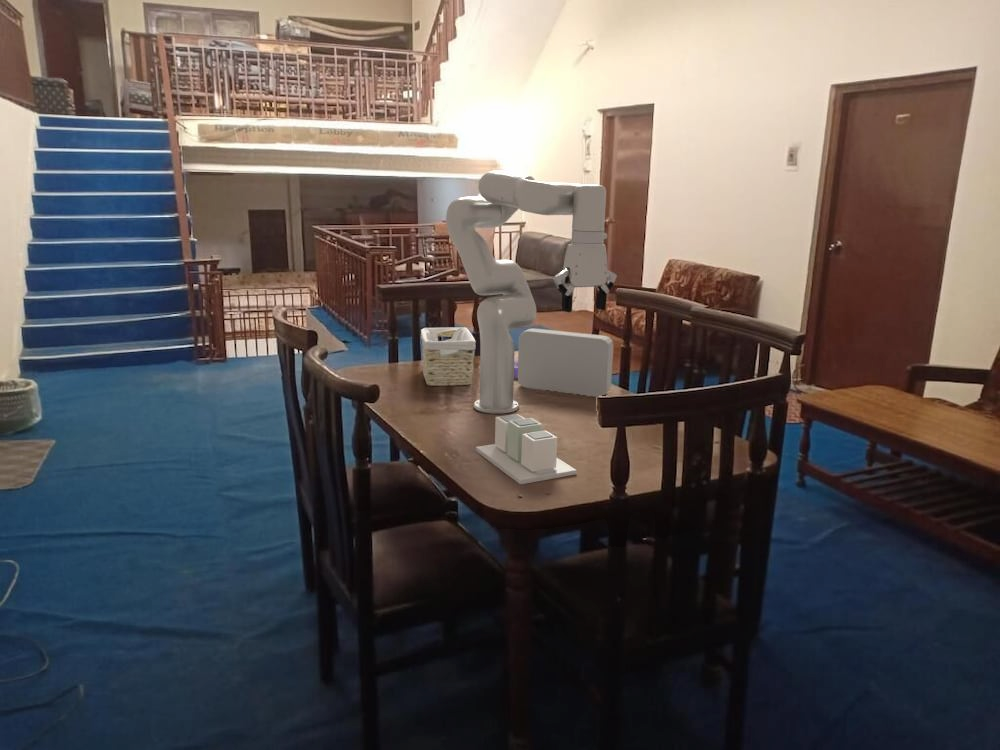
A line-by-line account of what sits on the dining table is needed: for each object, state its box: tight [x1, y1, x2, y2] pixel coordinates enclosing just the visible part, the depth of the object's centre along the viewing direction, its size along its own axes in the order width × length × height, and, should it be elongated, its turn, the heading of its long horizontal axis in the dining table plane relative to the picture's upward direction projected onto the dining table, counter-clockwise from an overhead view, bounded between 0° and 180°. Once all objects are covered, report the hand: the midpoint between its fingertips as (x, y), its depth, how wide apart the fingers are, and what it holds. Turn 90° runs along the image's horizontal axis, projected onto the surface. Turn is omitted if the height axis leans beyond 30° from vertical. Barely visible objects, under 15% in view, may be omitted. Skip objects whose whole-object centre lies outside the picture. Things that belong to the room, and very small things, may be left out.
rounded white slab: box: [517, 327, 614, 398], centre depth 226 cm, size 29×8×18 cm, turn 67°
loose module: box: [507, 417, 543, 461], centre depth 166 cm, size 5×6×8 cm
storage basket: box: [420, 326, 477, 387], centre depth 237 cm, size 24×16×15 cm
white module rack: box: [475, 413, 577, 485], centre depth 166 cm, size 22×14×9 cm, turn 27°
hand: (583, 310), depth 177 cm, fingers open, 9 cm apart
